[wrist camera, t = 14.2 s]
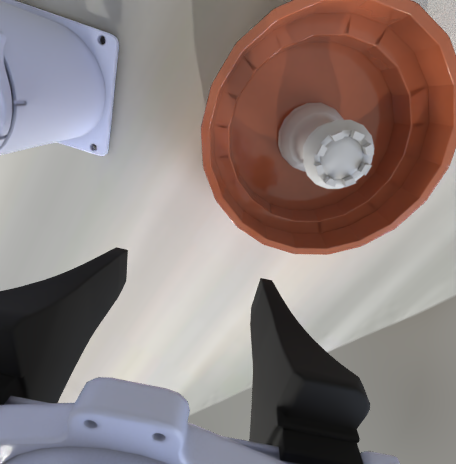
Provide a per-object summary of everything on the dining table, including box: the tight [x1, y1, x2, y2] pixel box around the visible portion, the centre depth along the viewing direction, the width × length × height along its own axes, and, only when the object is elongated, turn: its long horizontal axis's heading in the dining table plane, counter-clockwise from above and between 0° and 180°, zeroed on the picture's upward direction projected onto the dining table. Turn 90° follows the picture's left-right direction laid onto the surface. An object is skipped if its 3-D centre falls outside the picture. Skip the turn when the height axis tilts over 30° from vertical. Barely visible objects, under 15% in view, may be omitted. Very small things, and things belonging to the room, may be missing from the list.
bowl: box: [201, 0, 456, 255], centre depth 18 cm, size 14×14×5 cm
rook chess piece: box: [278, 103, 374, 189], centre depth 16 cm, size 4×4×8 cm
